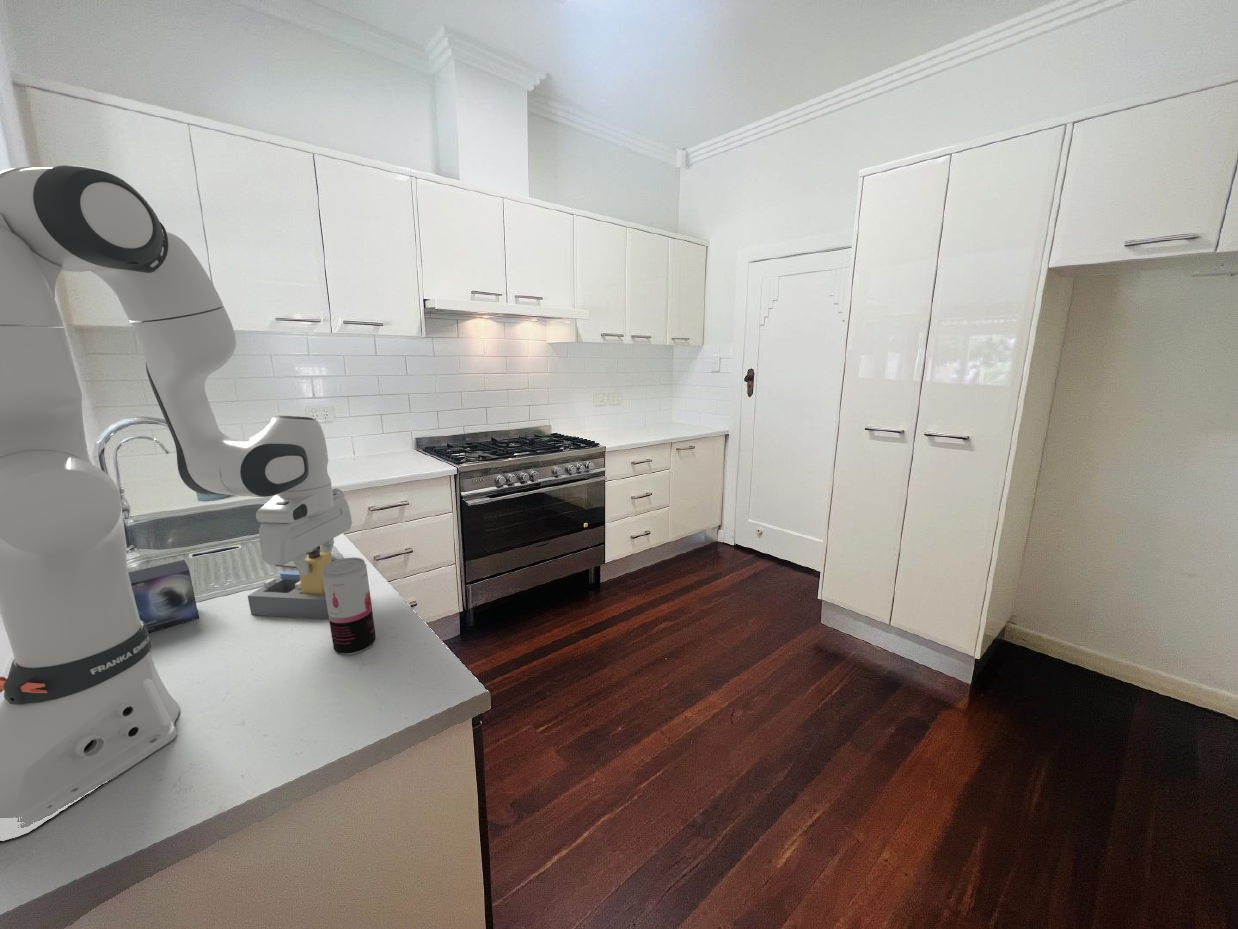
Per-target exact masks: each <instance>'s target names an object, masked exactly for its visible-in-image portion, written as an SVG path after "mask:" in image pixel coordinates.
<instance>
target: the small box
mask: <svg viewBox="0 0 1238 929" xmlns="http://www.w3.org/2000/svg"><path fill="white" fill-rule="evenodd" d="M128 573H129V577H130V582H131V586H132V590H133V594H134V598H135V602H136V606H137V610H138V613H139V617H140V620H142V621H144V622H145V624H146V627H147V630H148V634H149V632H150V633H152V632H155V631H156V630H157V631H159V630H160V631H161V630H163V629H162V628H164V629H166V627H167V628H170V627H173V626H177V625H180V623H181V624H184V623H187V622H186V621H188V622H190V621H189V620H191V621H193V620H192V619H195V620H197V619H199V618H200V617H199V611H198V607H197V601H196V596H195V592H194V586H193V583H192V581H193V580H192V577H191V571H190V569H189V566H188V564H187V562H186V560H185V559H182V560H178V561H173V562H168V563H163V564H160V565H156V566H151V567H147V568H146V567H145V568H142V569H138V570H133V571H128ZM183 622H184V623H183ZM169 626H170V627H169Z"/></svg>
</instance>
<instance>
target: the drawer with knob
mask: <svg viewBox="0 0 1238 929" xmlns="http://www.w3.org/2000/svg"><path fill="white" fill-rule="evenodd" d="M305 560H306V562H307V563H310V564H312V569H313V571H312V572H311V573H309V574H307V575H300V581H301V588H302V594H318V595H325V590H324V584H323V577H322V572H323V567H324V566H325V565H327V564H329V563H331V562H333V560H332V552H331V553H322V552H320V550H319V549H313V550H311V551H309V552H308V555H307V558H305Z"/></svg>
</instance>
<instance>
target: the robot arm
mask: <svg viewBox="0 0 1238 929" xmlns="http://www.w3.org/2000/svg"><path fill="white" fill-rule="evenodd" d="M62 271H65V272H72V273H75V272H76V273H79V272H80V273H81V272H92V273H93V274H94V275H96V276H97V277H98V278H100V279H102V281H104V282H105V283H106V284H107V285H108V287H109V288H111V290H112V291H113V292H114V293H115V295H116V296H117V298H118V300H119V302H120V305H121V307H122V309H123V311H124V312H125V315H126V317H127V318H128V320H129V322H130V324H131V327H132V328H133V330H134V332H135V333H136V336H137V339H138V340H139V343H140V345H141V347H142V350H143V354H144V358H145V370H146V375H147V378H148V381H149V384H150V386H151V389H152V392H153V394H154V397H155V399H156V402H157V404H158V406H159V409H160V410H161V413H162V416H163V418H164V419H165V422H166V425H167V427H168V430H169V432H170V434H171V436H172V440H173V442H174V447H175V451H176V466H177V470H178V474H179V477H180V479H181V480H182V482H183V483H184V484H185V486H187V487H188V488H189V489H190V490H192V491H193V492H195V493H196V492H198V493H200V494H205V495H229V496H235V497H236V496H238V497H252V498H268V497H271V498H270V500H268V501H267V502H266V503H265V504H264V505H262V506H261V507H260V508H259V509H258V510H256V513H255V517H256V520H257V522H258V523H260V522H261V525H260V527H259V530H258V540H259V548H260V554H261V558H262V560H263V562H265V563H266V564H267V565H270V566H281V565H285V564H287V563H289V562H291V561H293V562H294V563H295V564H296V566H298V567H297V570H298V571H297V572H299V574H300V575H307V574H309V573H311V572H312V571H313V569H312V564H310V563H307V562H306V560H305V558H307V552H309V551H311V550H313V549H314V548H316V547H318V546H320V549H321V552H322V553H331V554H332V552H333V548H334V544H335V538H337V537H338V536H340V535H342V534H344V533H345V532H348V531H350V530H351V528H352V525H353V521H352V520H353V519H352V513H351V511H350V510H351V509H350V506H349V503H348V501H347V499H346V497H345V493H344V491H342V490H341V489H339V488H333V487H332V478H331V477H330V476H329V472H328V463H329V454H328V449H327V442H326V438H325V434H324V431H323V428H322V426H321V424H320V423H319V421H318V420H317V419H315V418H314V417H310V416H300V415H299V416H298V415H297V416H293V415H275V416H272V417H271V418H270V421H269V423H268V424H267V425H266V426H265V427H264V428H263V429H262V430H261V431H259V432H258V433H256V434H255V435H253V436H251V437H249V438H247V439H235V438H231V437H229V436H227V435H226V434H225V433H223V431H221V429H220V428H219V426H218V423H217V421H216V418H215V415H214V412H213V410H212V407H211V405H210V401H209V398H208V396H207V393H206V388H205V385H206V381H207V379H208V377H209V376H210V375H211V374H213V373H214V372H216V371H218V370H219V369H221V368H222V367H223V366H225V364H226V363H228V361H229V360H230V359H231V357H232V356H233V354H234V353H235V349H236V346H237V340H236V334H235V330H234V327H233V324H232V321H231V319H230V316H229V314H228V313H227V310H226V308H225V306H224V303H223V301H222V299H221V297H220V294H219V293H218V291H217V289H216V287H215V286H214V285H215V284H214V283H213V282H212V280H211V278H210V276H209V275H208V273H207V271H206V270H205V268H204V267H203V265H202V263H201V262H200V260H199V259H198V257H197V256H196V255H195V254H194V252H193V250H192V249H191V248H190V246H189V245H188V244H187V243H186V241H184V240H183V239H182V238H180V236H177V235H176V234H174V233H171V232H168V231H167V230H166V228H165V226H164V225H163V223H162V222H161V221H160V220H159V218H158V215H157V213H155V210H153V208H152V206H151V205H150V204H149V202H147V200H146V199H145V198H144V197H143V196H142V195H141V194H140V192H139V191H138V190H136V188H134V187H133V186H132V185H131V184H129V183H127V182H126V181H125V180H123V179H122V178H120V177H118V176H116V175H114V174H112V173H109V172H107V171H104V170H100V169H96V168H92V167H88V166H80V165H71V164H67V165H57V166H54V167H34V166H33V167H32V166H21V167H13V168H8V169H4V170H1V171H0V617H1V621H2V623H3V627H4V630H5V632H6V635H7V639H8V641H9V645H10V649H11V651H12V654H13V657H14V659H13V660H12V662H11V664H10V668H9V671H8V674H7V678H6V677H5V676H0V693H1V692H3V691H4V693H3V697H4V698H3V699H2V701H1V702H0V818H14V817H15V818H18V820H17V822H21V823H22V822H24V823H25V824H24V823H22V824H23V825H22V824H20V825H21V826H20V827H21V828H24V827H28V826H30V825H31V824H33V822H34V823H35V822H37V821H40V820H42V819H43V818H45V817H47V816H50V815H52V814H53V813H55V812H56V811H58V809H61V808H63V807H64V806H66V805H68V804H69V803H72V802H74V800H77V799H78V798H79V797H82V796H84V795H85V794H86V793H88V792H89V791H91V790H93V789H95V788H96V787H98V786H99V785H102V784H103V783H105V782H106V781H108V780H110V779H112V780H113V779H115V778H117V777H118V776H119V774H120V773H121V774H123V773H124V772H126V771H127V770H128V769H130V768H132V767H133V766H135V765H137V764H138V763H140V762H141V761H143V760H144V759H145V758H146V759H147V757H149V756H150V755H152V754H153V753H154V752H157V751H158V750H159V749H161V748H162V747H164V746H165V745H167V744H169V743H170V742H172V741H173V740H174V739H175V738H176V737H177V736H178V735H177V734H178V732H177V729H176V726H175V722H176V720H177V718H178V716H179V713H180V706H179V703H178V702H177V701H176V700H175V699H174V697H173V696H172V695H171V694H170V693H169V691H168V689H167V688H166V685H165V684H164V682H163V681H162V679H161V676H160V674H159V673H158V670H157V669H156V666H155V662H154V661H153V659H152V656H151V649H152V642H151V638H150V635H149V633H148V630H147V627H146V624H145V622H144V621H142V620H140V617H139V613H138V610H137V606H136V602H135V598H134V594H133V590H132V586H131V582H130V577H129V573H128V572H129V568H128V558H127V557H128V556H127V541H126V539H127V538H126V532H125V522H124V516H123V510H122V500H121V495H120V491H119V489H118V487H117V485H116V483H115V481H114V480H113V479H112V478H111V476H110V475H109V474H107V473H106V472H105V471H104V470H102V469H101V468H100V467H98V466H96V465H94V464H93V463H92V462H91V459H90V455H89V452H88V446H87V440H86V439H87V438H86V433H85V425H84V424H85V423H84V417H83V406H82V402H83V393H82V391H81V387H80V383H79V379H78V375H77V371H76V367H75V364H74V360H73V356H72V352H71V348H70V344H69V341H68V337H67V332H66V329H65V325H64V322H63V318H62V316H61V312H60V309H59V307H58V303H57V301H56V283H57V280H58V277H59V275H60V274H61V272H62ZM121 774H120V775H121ZM117 775H118V776H117ZM110 781H111V780H110ZM19 817H20V821H19ZM21 817H22V818H21ZM18 826H19V825H18ZM18 828H19V827H18Z"/></svg>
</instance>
